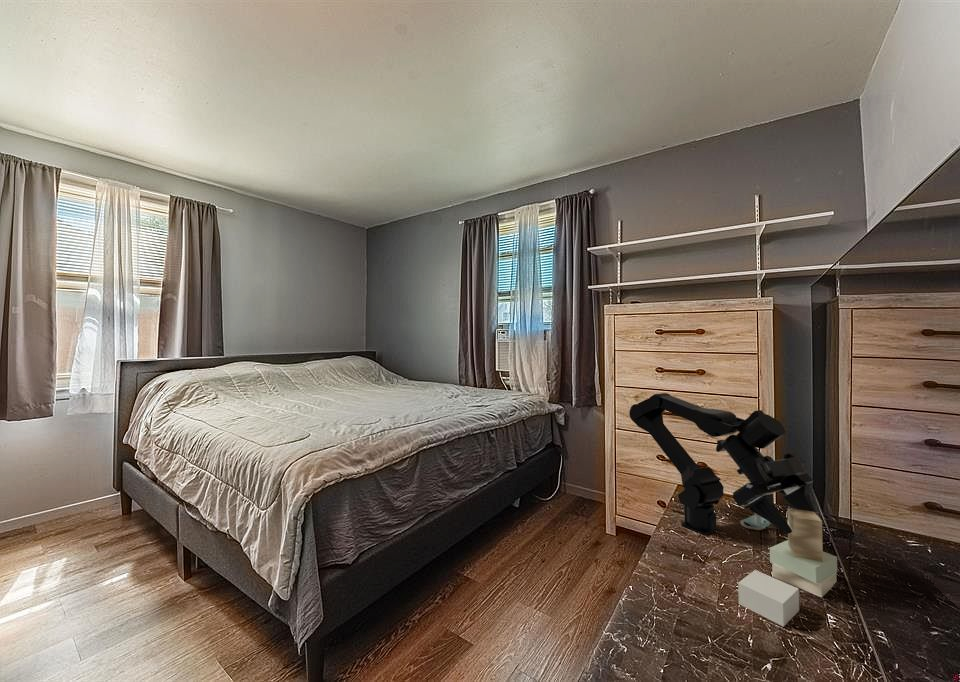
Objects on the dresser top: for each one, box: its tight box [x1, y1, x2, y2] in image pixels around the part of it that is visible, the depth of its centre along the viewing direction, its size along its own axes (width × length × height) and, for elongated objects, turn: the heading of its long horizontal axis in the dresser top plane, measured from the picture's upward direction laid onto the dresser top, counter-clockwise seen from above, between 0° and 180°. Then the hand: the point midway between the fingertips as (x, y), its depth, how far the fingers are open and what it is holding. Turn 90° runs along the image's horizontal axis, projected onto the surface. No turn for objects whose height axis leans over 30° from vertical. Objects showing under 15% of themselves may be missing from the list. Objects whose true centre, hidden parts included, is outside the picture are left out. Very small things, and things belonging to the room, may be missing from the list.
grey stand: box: [737, 569, 800, 628], centre depth 71 cm, size 7×7×4 cm
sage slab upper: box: [769, 539, 838, 583], centre depth 79 cm, size 8×8×3 cm
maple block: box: [787, 507, 824, 562], centre depth 78 cm, size 4×4×8 cm
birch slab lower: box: [771, 563, 838, 598], centre depth 79 cm, size 8×8×3 cm
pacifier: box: [739, 513, 771, 531], centre depth 101 cm, size 7×6×6 cm
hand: (804, 528), depth 78 cm, fingers open, 9 cm apart
